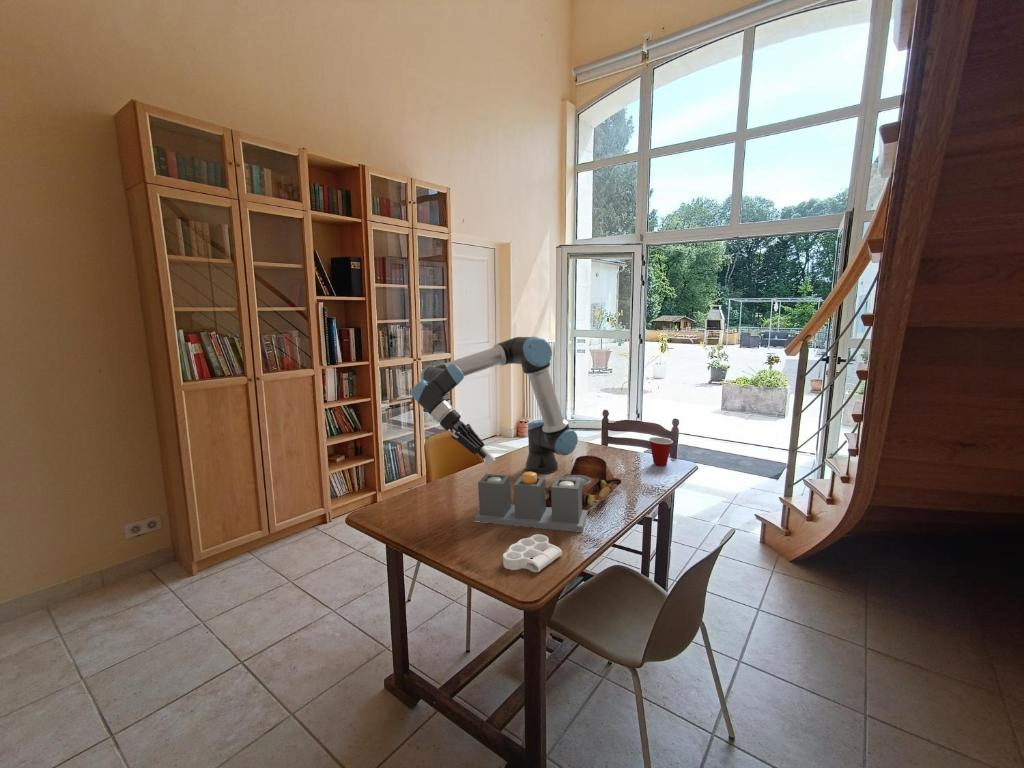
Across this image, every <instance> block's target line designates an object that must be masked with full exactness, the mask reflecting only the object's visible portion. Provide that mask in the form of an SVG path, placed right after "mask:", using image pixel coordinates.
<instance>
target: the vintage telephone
mask: <svg viewBox="0 0 1024 768" xmlns="http://www.w3.org/2000/svg"><path fill="white" fill-rule="evenodd" d="M561 478H564V479H581V480H582V510H587V511H588V509H589V508H590V507H591V506H592V505H593V504H595V503H596V504H597V503H600V502H601V501H602V500H604V499H607V497H608V496H609V494H610V493H612V491H613V490H614V489H615V488H616V487H617V486H619V485H621V484H622V480H621V479H620V478H619V477H614V475H613V473H612V472H611V470H610V468H609V467H608V465H607V462H606V461H605V460H604V459H603V458H601V457H598V456H594V455H581V456H578V457H576V458H575V461H574V463H573V466H572V469H571V471H570V474H568V473H567V474H564V475H563V476H562V477H561ZM552 485H553V483H552V484H551V485H549V486H548V487H546V486H545V495H548V497H546V507H551V508H552V500H551V487H552Z"/></svg>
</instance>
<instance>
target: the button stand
mask: <svg viewBox="0 0 1024 768" xmlns="http://www.w3.org/2000/svg"><path fill="white" fill-rule="evenodd" d="M490 477H500V478H501V481H500V482H488V481H487V479H488V478H490ZM563 481H570V482H573V483H574V487H566V486H559V483H560V482H563ZM552 484H553V485H552ZM552 484H551V485H552V487H551V500H552V508H551V507H546V499H547V496H546V495H547V494H546V490H545V487H546V477H544V476H537V484H536V485H535V484H523V481H522V475H520V476H519V477H518V479H517V480H516V482H514V484H513V495H514V498H513V499H514V504H512V497H511V496H512V495H511V493H512V491H511V475H509V474H493V473H486V474H484V476H483V477H482V478H481V479H479V481H478V483H477V486H478V487H477V489H478V504H479V505H478V507H479V508H478V509H479V510H478V511H477V513H476V514H475V515H474V516H473V522H474V521H480V522H488V523H495V524H494V525H497V524H505V525H504V526H508V525H515V526H514V527H519V526H523V527H522V528H530V527H533V528H532V529H541V528H542V529H543V530H544V529H545V530H554V531H564V532H565V531H566V532H574V531H575V532H576V533H583V532H584V529H585V526H586V522H587V518H588V509H587V510H582V480H581V479H564V478H562V477H559V478H558V477H555V479H554V481H553V482H552ZM584 525H585V526H584Z"/></svg>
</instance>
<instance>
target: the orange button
mask: <svg viewBox="0 0 1024 768" xmlns="http://www.w3.org/2000/svg"><path fill="white" fill-rule="evenodd" d="M537 474H538V473H535V472H529V471H525V472H523V473H522V474H521V476H522V481H523V484H535V485H536V484H537V477H538V475H537Z"/></svg>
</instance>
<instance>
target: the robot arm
mask: <svg viewBox="0 0 1024 768" xmlns="http://www.w3.org/2000/svg"><path fill="white" fill-rule="evenodd" d="M552 356H553V350H552V346H551V345H550V343H549V342H548V341H547V340H546V339H544V338H543V337H538V336H516V337H513V338H510V339H507V340H504V341H501V342H499V343H496V344H494V345H493V346H492V347H491V348H489V349H484V350H482V351H479V352H476V353H473V354H469V355H466V356H463V357H461V358H457V359H453V360H450V361H447V362H445V363H442V364H438V365H436V366H427V367H424V368H423V370H422V371H421V372H420V380H421V381H418V382H417V383H416V384H415V386H413V388H412V389H411V390H410V391H411V392H410V394H411V396H412V398H413V399H414V400H415V402H417V403H418V405H420V407H422V408H423V409H424V411H425V412H427V413H428V414H429V415H430V416H431V417H432V419H433V420H435V421H436V422H437V423H439V425H440V426H441V428H443V430H445V431H450V432H451V433H452V435H451V439H453V440H455V441H456V442H458V443H459V444H461V445H462V446H463V447H465V448H466V449H467V450H468V451H469V452H471V453H472V454H473V455H476V454H477V455H478V456H479V457H480V458H482V459H483V461H484V462H485V463H486V464H487V465H488V466H489V467H490V466H492V464H493V463H494V462H495V461H496V458H495V457H494V456H493V455H492V454H491V453H490V451H488V450H487V449H486V448H485V447H484V446H485V443H484V441H483V440H482V439H481V438H480V437H479V435H478V434H477V432H475V431H474V429H473V427H472V426H471V424H470V423H467V424H465V423H464V422H463V421H461V418H462V417H461V414H460V413H459V412H458V411H457V410H456V409H454V408H453V406H452V405H451V404H450V402H448V401H447V400H446V399H445V398H444V397H446V396H447V395H448V394H449V393H450V392H451V391H452V390H454V388H455V387H457V386H458V385H459V384H460V383H461V382H462V381H463V380H464V378H465V377H467V376H469V375H472V374H475V373H478V372H481V371H484V370H487V369H490V368H493V367H496V366H498V365H499V366H500V367H503V366H506V365H511V364H515V365H516V364H517V365H521V368H522V372H523V373H524V374H526V376H528V379H529V380H530V385H531V387H532V390H533V393H534V397H535V401H536V403H537V406H538V409H539V413H540V415H541V419H537V420H533V421H530V422H529V423H528V424H527V439H528V454H527V458H526V462H525V471H527V470H528V471H527V472H529V471H530V472H535V473H536V474H539V473H541V475H542V474H550V473H554V472H556V471H557V470H558V469H559V466H558V465H559V464H558V461H557V459H556V455H559V456H560V455H561V456H568V455H570V454H572V453H573V451H574V450H575V449H576V446H577V445H578V441H579V440H578V439H579V437H578V434H577V432H576V431H574V430H573V429H571V428H570V426H569V422H568V420H567V419H565V418H564V417H563V413H562V411H561V408H560V404H559V401H558V397H557V394H556V391H555V387H554V384H553V382H552V378H551V375H550V371H549V369H550V366H551V362H550V361H552V360H551V359H552ZM555 454H556V455H555Z"/></svg>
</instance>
